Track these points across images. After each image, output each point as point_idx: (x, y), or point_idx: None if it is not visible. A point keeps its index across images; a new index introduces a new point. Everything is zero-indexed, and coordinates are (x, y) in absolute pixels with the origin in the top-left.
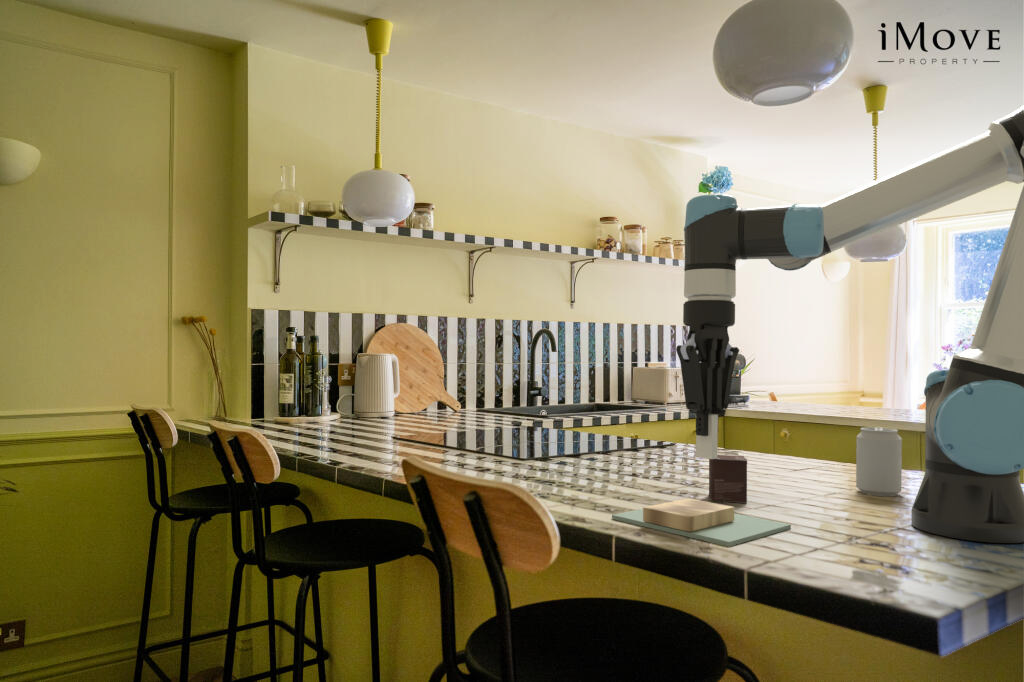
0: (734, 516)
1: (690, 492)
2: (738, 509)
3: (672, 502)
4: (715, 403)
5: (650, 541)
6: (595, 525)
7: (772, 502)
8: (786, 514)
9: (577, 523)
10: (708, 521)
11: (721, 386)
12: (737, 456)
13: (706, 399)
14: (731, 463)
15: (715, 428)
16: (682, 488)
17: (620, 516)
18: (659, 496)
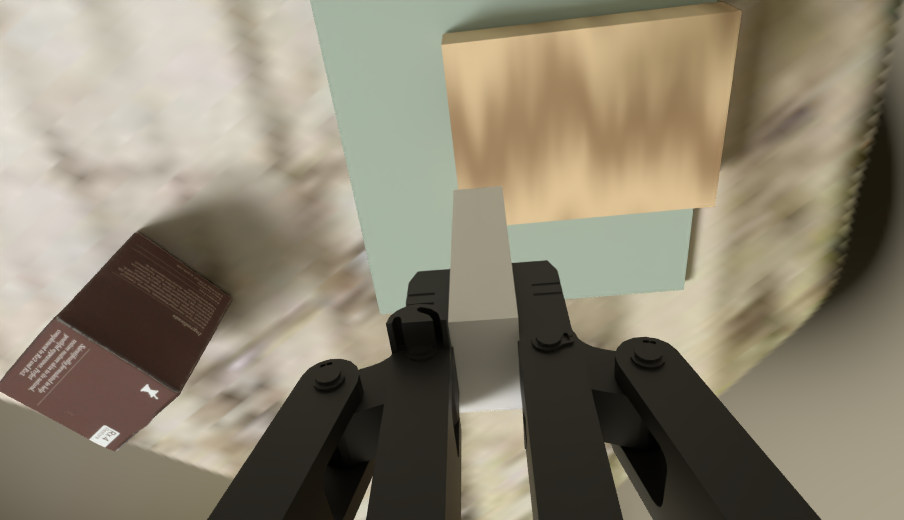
0: (375, 88)
1: (204, 395)
2: (232, 186)
3: (567, 210)
4: (450, 392)
5: (853, 34)
6: (782, 254)
7: (35, 198)
8: (119, 50)
9: (797, 291)
10: (610, 19)
11: (372, 502)
12: (30, 388)
13: (592, 403)
14: (120, 342)
15: (473, 268)
16: (189, 434)
17: (682, 265)
18: None
